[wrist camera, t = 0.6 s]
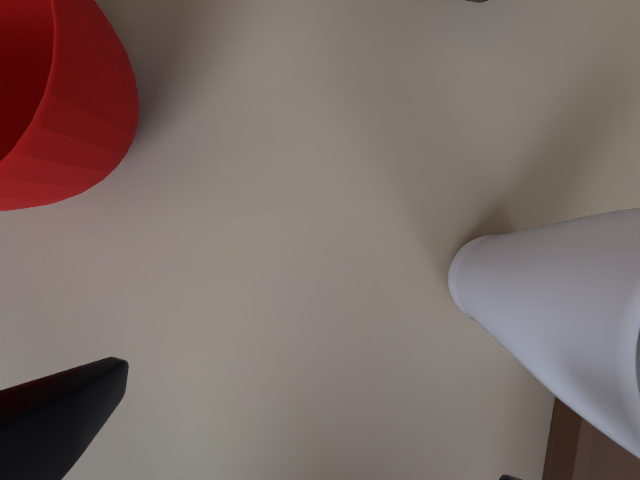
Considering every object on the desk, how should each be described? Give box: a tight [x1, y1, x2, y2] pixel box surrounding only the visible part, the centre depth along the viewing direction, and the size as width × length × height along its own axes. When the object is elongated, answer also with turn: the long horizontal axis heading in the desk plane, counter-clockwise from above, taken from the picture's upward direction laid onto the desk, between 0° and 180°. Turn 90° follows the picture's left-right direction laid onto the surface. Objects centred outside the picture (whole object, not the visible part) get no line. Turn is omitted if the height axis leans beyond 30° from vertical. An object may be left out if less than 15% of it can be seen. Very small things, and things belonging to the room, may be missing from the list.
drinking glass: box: [448, 208, 640, 459], centre depth 15 cm, size 7×7×15 cm
